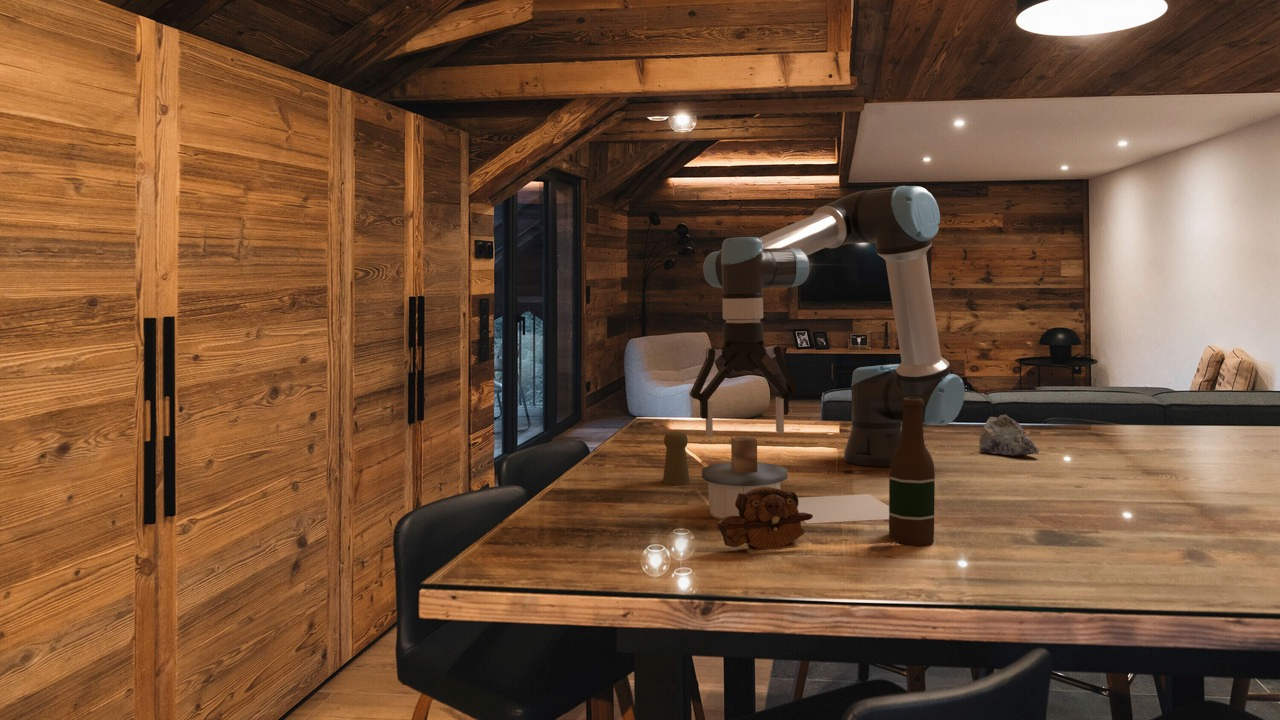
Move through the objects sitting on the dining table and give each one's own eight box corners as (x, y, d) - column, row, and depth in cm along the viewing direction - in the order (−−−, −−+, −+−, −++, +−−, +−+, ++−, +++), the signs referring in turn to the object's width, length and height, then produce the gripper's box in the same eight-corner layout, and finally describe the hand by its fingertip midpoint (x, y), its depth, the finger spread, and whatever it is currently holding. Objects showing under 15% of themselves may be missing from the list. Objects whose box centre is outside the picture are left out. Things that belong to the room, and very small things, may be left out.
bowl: (768, 503, 182) (768, 468, 181) (787, 520, 169) (787, 482, 168) (703, 506, 180) (703, 471, 179) (717, 523, 167) (717, 485, 166)
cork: (687, 485, 198) (687, 435, 197) (660, 484, 200) (659, 434, 199) (692, 479, 204) (691, 430, 203) (665, 478, 205) (664, 430, 204)
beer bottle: (880, 534, 158) (881, 396, 156) (924, 533, 159) (926, 394, 157) (897, 547, 150) (898, 401, 148) (943, 545, 151) (945, 400, 149)
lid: (774, 466, 183) (773, 430, 182) (798, 483, 167) (798, 444, 166) (694, 469, 181) (694, 433, 180) (711, 487, 165) (710, 448, 164)
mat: (868, 497, 185) (868, 494, 185) (908, 521, 166) (908, 518, 166) (776, 501, 183) (776, 498, 183) (806, 526, 164) (806, 523, 164)
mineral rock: (1041, 460, 219) (1042, 418, 219) (997, 461, 219) (998, 419, 218) (1016, 450, 232) (1017, 411, 231) (974, 451, 232) (975, 412, 231)
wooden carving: (727, 558, 146) (726, 496, 145) (714, 550, 151) (714, 490, 150) (817, 546, 152) (817, 487, 151) (803, 539, 156) (803, 481, 155)
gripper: (801, 317, 176) (802, 427, 178) (673, 322, 173) (675, 433, 175) (814, 319, 169) (815, 434, 171) (680, 324, 166) (683, 440, 168)
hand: (744, 434), depth 173 cm, fingers open, 13 cm apart
